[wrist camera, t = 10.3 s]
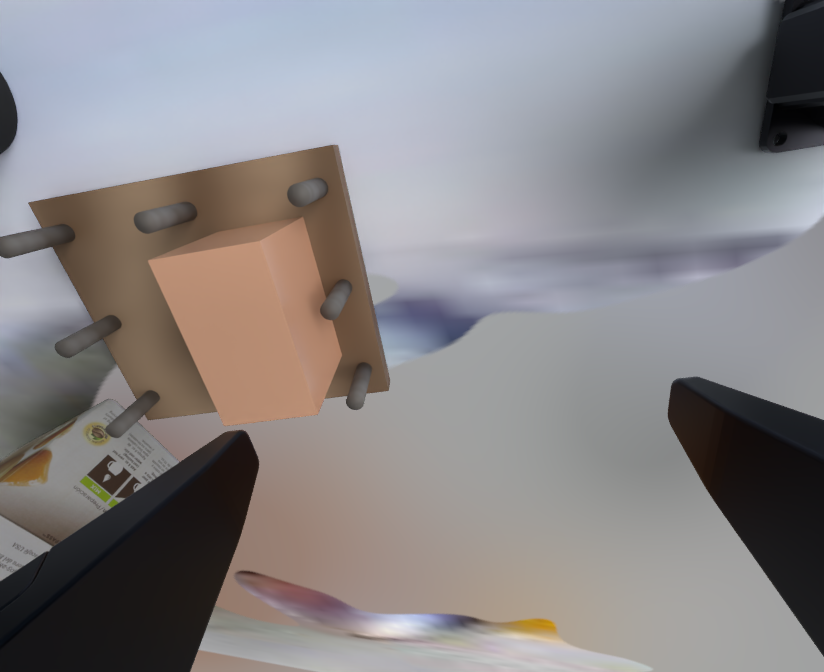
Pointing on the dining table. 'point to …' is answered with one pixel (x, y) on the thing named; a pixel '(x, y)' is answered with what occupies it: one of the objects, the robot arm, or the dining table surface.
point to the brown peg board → (185, 223)
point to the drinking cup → (6, 115)
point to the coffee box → (71, 481)
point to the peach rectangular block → (253, 319)
